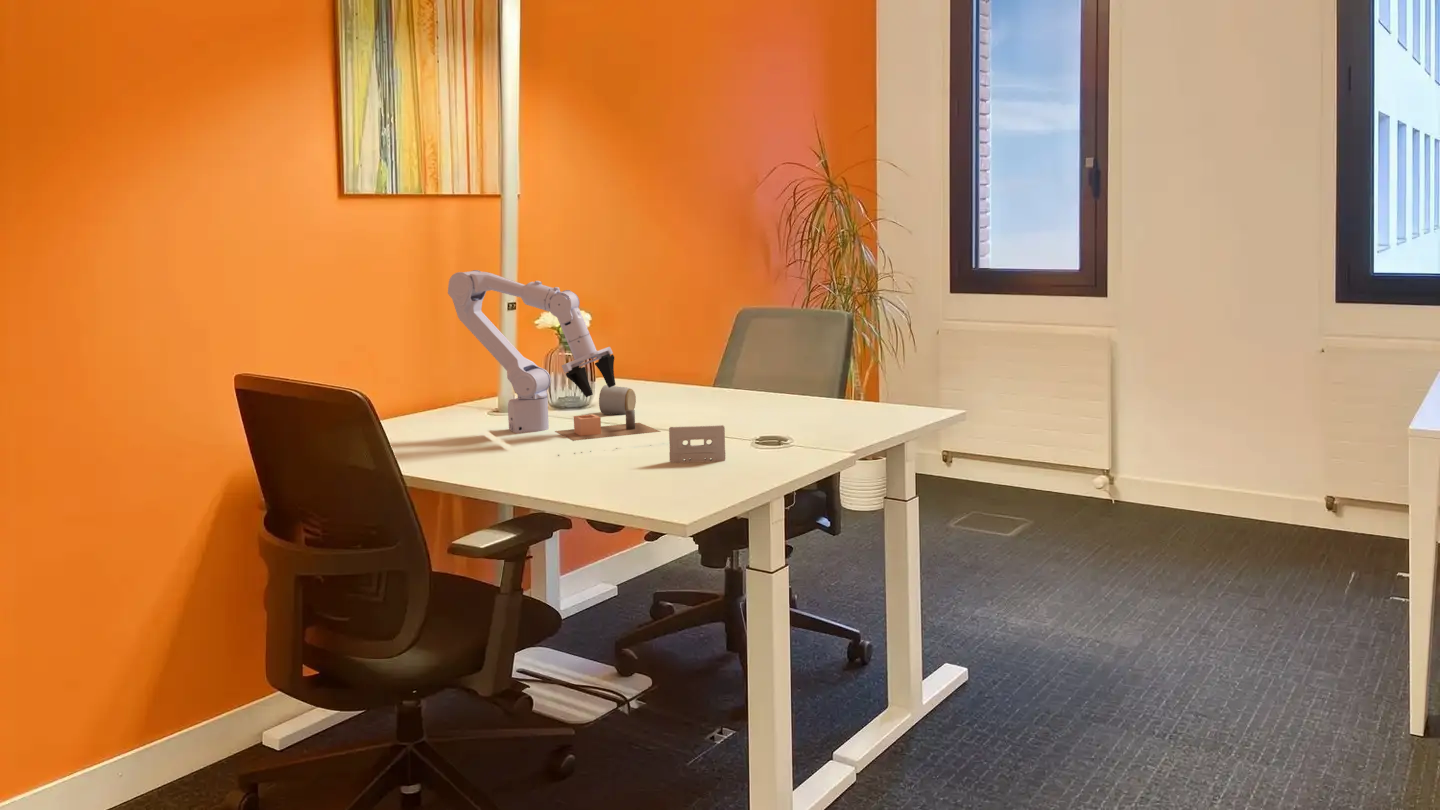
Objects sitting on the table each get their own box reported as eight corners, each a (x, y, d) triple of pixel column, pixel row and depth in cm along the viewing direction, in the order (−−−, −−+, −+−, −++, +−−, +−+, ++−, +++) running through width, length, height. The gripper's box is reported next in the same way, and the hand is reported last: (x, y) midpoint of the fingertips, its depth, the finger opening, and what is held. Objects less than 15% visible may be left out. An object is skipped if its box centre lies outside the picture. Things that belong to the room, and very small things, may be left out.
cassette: (669, 463, 263) (668, 428, 262) (669, 461, 265) (668, 426, 264) (725, 461, 264) (725, 426, 263) (725, 459, 266) (724, 424, 265)
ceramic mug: (627, 416, 322) (626, 387, 321) (598, 415, 324) (597, 387, 323) (641, 411, 332) (641, 382, 331) (613, 410, 334) (612, 382, 333)
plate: (573, 444, 286) (572, 421, 285) (554, 435, 298) (553, 412, 297) (660, 435, 295) (660, 412, 294) (639, 426, 307) (638, 404, 306)
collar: (581, 435, 291) (580, 419, 290) (574, 432, 295) (573, 416, 295) (601, 433, 293) (600, 417, 292) (594, 430, 297) (593, 414, 297)
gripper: (565, 342, 287) (588, 396, 287) (610, 326, 297) (632, 378, 297) (549, 350, 292) (571, 403, 292) (593, 334, 302) (615, 385, 302)
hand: (601, 391), depth 295 cm, fingers open, 7 cm apart
